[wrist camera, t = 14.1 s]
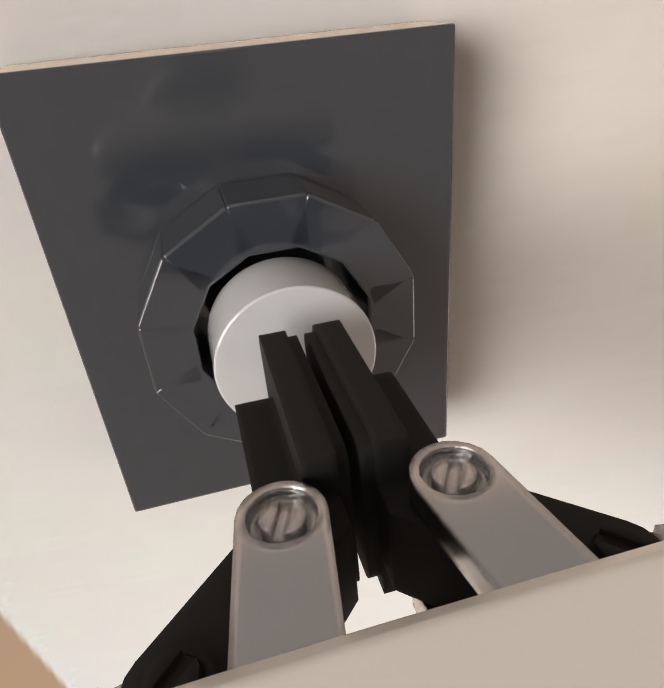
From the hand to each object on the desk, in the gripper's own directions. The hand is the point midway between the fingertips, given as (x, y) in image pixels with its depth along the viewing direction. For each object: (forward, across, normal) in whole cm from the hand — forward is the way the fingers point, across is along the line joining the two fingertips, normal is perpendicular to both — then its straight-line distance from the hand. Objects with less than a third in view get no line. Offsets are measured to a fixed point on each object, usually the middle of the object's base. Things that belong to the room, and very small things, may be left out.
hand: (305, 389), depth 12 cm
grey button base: (+6, 0, 0) cm, 6 cm away
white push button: (+3, 0, 0) cm, 3 cm away
